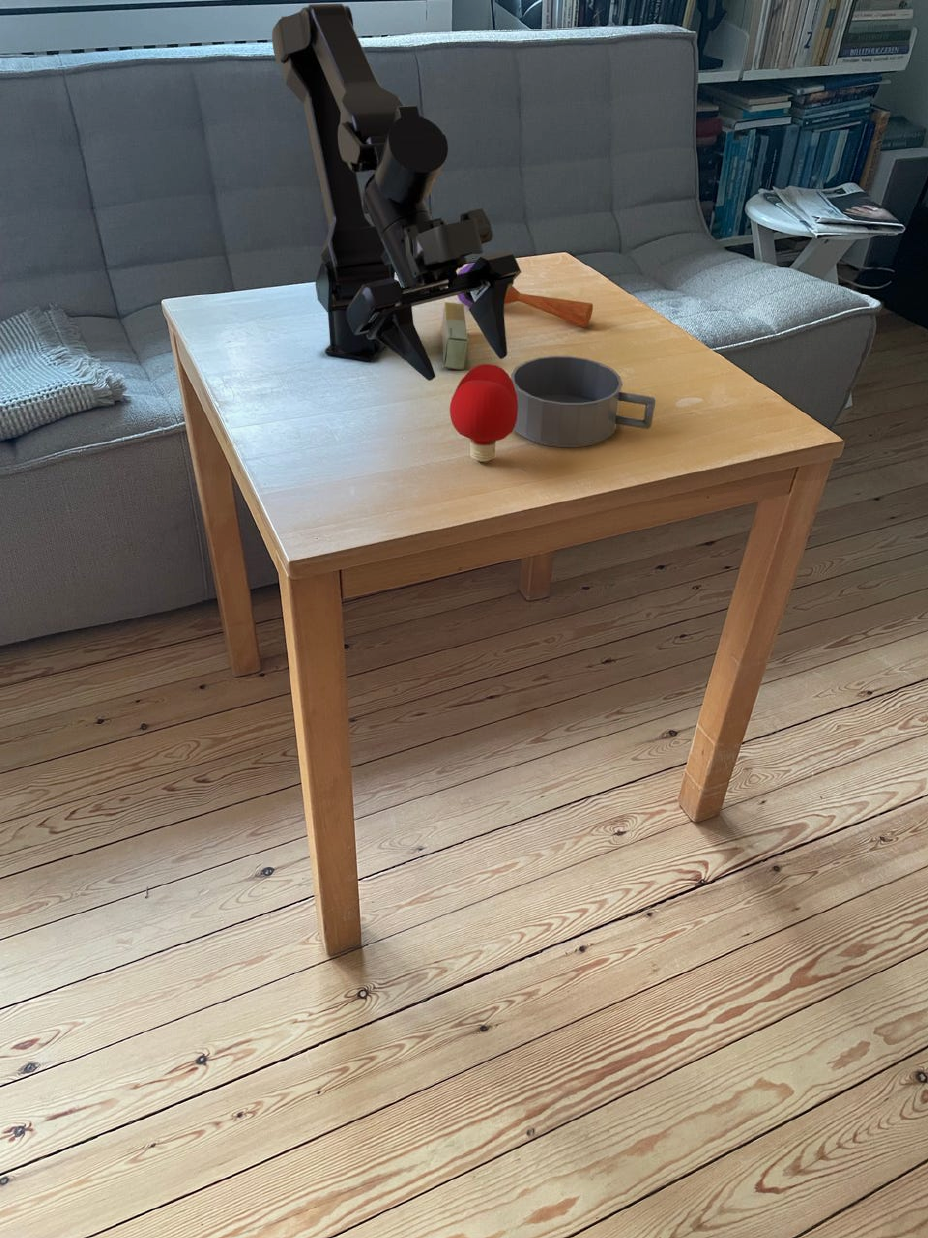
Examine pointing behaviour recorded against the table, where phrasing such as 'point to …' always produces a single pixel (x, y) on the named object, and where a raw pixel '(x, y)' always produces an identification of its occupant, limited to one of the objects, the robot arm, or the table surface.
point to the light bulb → (484, 409)
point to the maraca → (545, 304)
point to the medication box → (454, 336)
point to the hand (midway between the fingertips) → (469, 367)
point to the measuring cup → (572, 401)
